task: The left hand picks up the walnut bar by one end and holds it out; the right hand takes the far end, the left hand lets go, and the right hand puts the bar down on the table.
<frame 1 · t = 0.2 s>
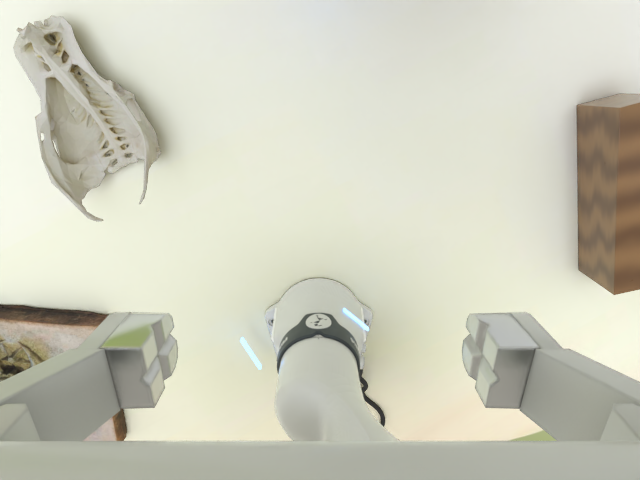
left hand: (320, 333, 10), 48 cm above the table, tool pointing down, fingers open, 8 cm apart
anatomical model: (102, 117, 54), on the table
plaque: (39, 372, 71), on the table
bar: (597, 189, 58), on the table
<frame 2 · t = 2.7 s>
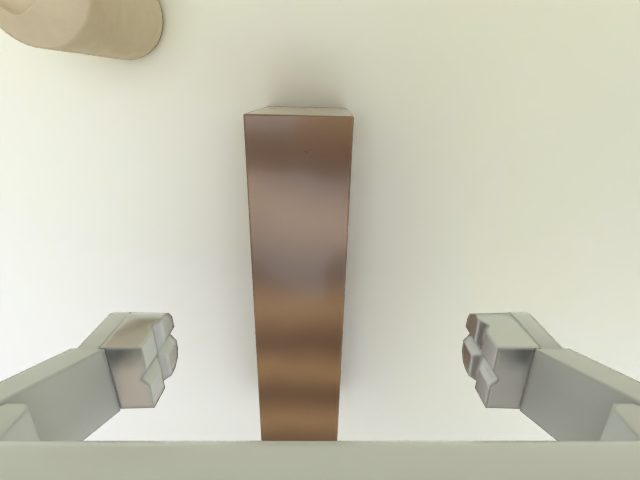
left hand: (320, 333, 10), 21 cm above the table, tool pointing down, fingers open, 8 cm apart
candle: (124, 15, 25), on the table
bar: (305, 271, 33), on the table
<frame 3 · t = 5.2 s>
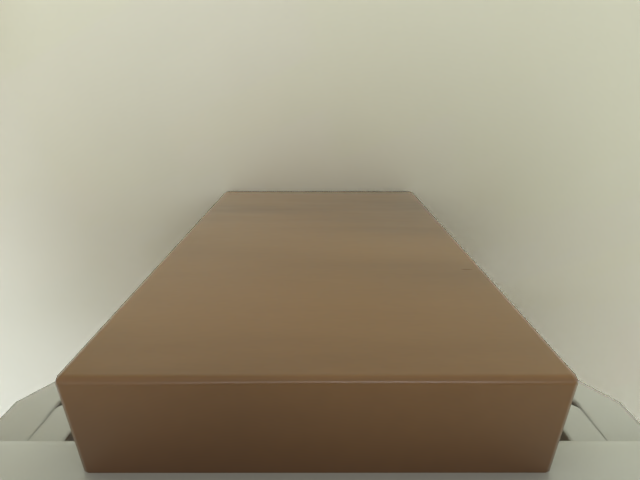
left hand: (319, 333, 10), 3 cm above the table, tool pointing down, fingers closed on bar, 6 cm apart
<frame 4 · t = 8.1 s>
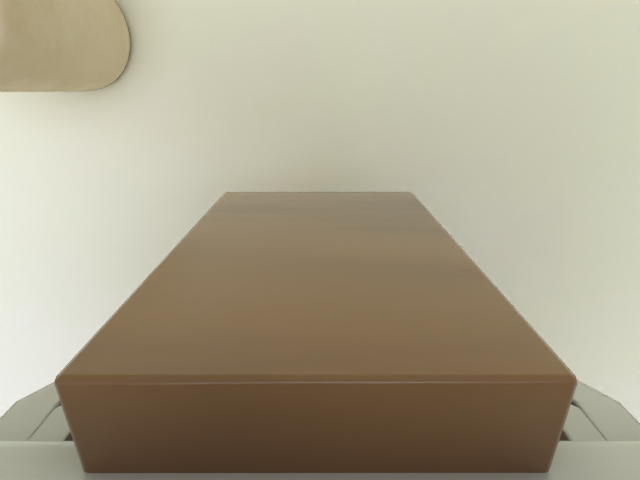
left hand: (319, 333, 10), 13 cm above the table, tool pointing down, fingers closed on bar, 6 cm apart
candle: (80, 34, 19), on the table
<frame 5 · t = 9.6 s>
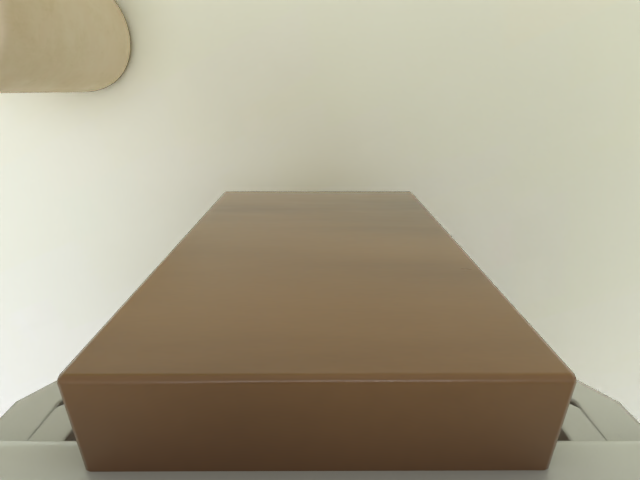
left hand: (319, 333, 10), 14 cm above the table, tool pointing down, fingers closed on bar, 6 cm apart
candle: (80, 35, 20), on the table
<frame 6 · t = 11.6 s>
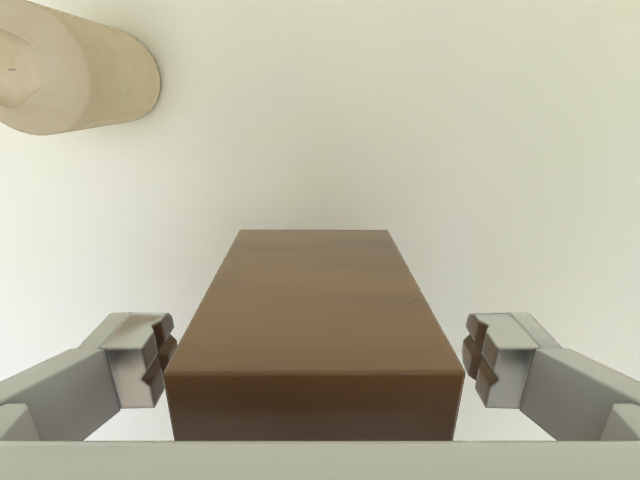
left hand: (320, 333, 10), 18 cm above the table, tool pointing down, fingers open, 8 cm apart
candle: (120, 77, 24), on the table
bar: (313, 470, 20), point 13 cm above the table, touching right hand
when the right hand's fingers open (4 cm above the table, at t = 15.3 s): bar stays where it is, on the table.
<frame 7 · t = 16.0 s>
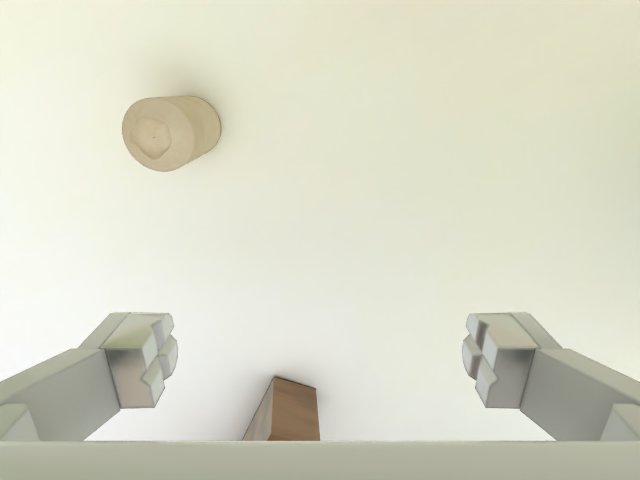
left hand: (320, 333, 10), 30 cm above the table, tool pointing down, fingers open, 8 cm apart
candle: (193, 125, 37), on the table
bar: (259, 450, 53), on the table
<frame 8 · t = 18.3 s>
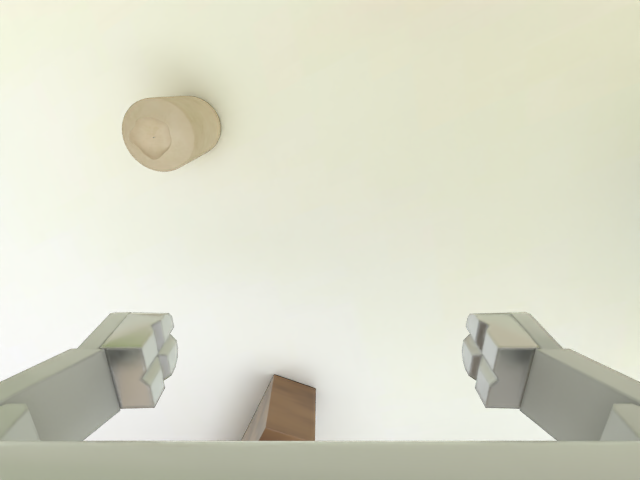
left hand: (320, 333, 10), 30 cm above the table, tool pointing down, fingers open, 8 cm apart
candle: (193, 125, 37), on the table
bar: (259, 449, 53), on the table
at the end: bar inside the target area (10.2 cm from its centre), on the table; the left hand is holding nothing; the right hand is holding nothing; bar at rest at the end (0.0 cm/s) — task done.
